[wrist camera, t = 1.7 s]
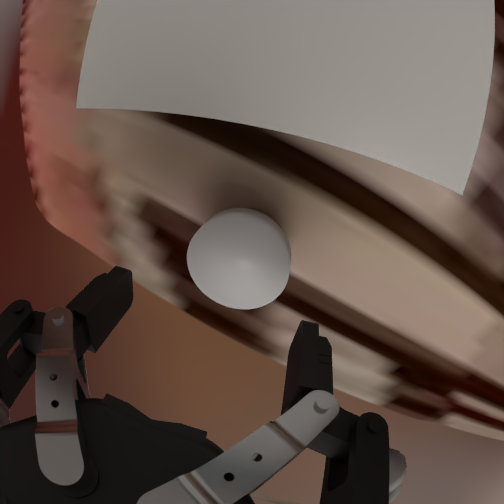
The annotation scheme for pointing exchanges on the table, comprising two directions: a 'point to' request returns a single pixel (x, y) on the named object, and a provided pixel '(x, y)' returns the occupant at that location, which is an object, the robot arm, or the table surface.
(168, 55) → the housing
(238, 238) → the disc
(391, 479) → the headphones
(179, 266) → the table surface
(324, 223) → the table surface
